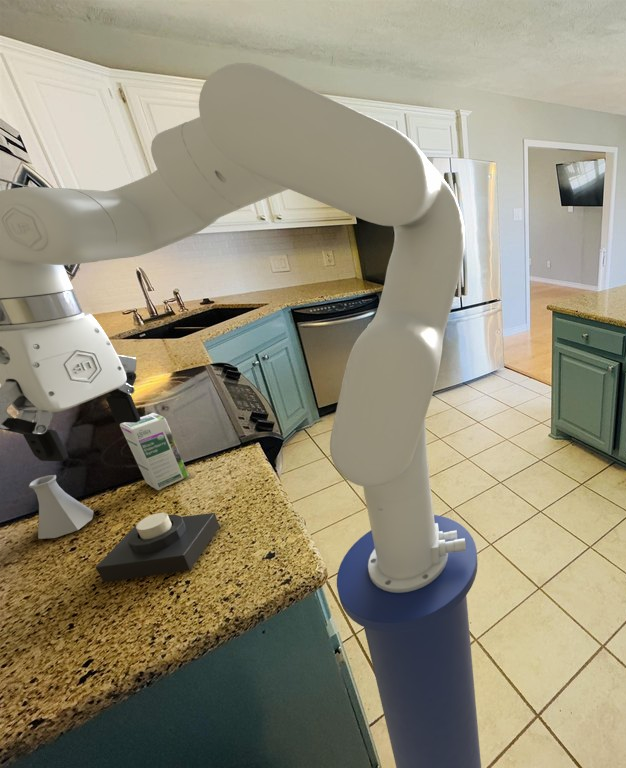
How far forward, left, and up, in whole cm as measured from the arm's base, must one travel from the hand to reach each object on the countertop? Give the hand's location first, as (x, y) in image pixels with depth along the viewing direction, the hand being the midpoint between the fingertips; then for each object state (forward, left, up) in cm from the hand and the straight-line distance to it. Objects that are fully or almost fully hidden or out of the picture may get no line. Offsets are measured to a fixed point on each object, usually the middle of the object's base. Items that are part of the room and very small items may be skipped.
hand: (94, 439), depth 53 cm
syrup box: (+14, -29, -25) cm, 41 cm away
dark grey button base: (+2, -6, -25) cm, 26 cm away
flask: (+24, -17, -25) cm, 39 cm away
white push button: (+2, -6, -20) cm, 21 cm away
